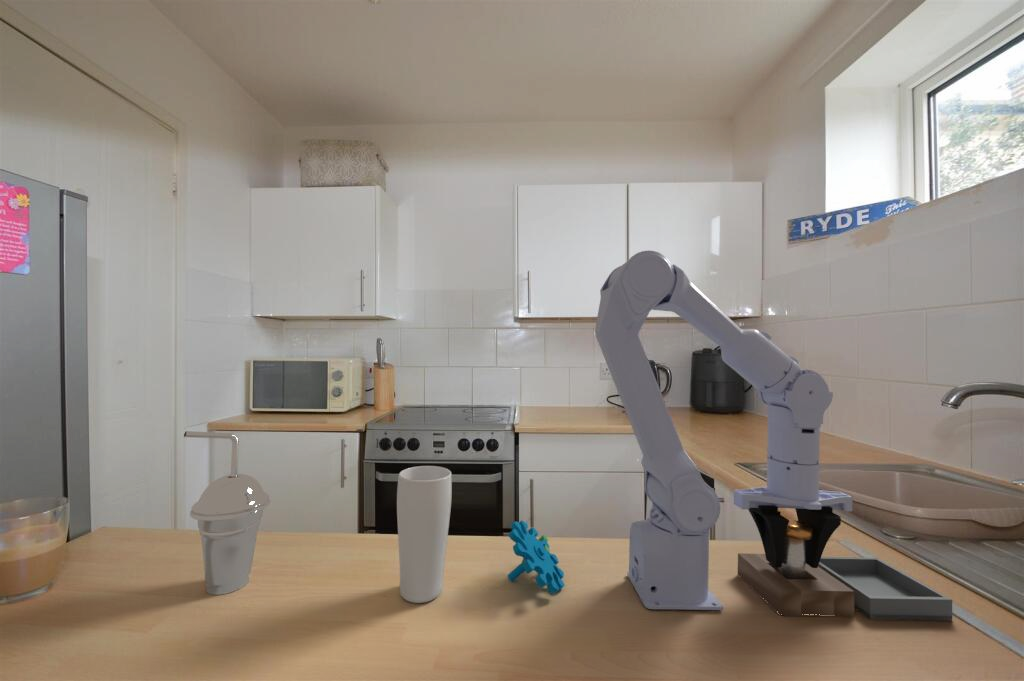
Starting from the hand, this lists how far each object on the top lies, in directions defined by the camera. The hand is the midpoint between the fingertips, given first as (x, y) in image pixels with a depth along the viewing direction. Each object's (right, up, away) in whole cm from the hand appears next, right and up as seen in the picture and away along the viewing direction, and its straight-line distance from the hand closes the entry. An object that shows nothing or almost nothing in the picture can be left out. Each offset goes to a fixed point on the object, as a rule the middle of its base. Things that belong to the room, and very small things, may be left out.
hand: (791, 563), depth 54 cm
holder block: (0, -4, 0) cm, 4 cm away
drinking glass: (-48, -3, -2) cm, 48 cm away
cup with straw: (-73, -2, -2) cm, 73 cm away
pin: (0, -4, 0) cm, 4 cm away
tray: (+11, -4, 0) cm, 12 cm away
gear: (-33, -3, +1) cm, 34 cm away
